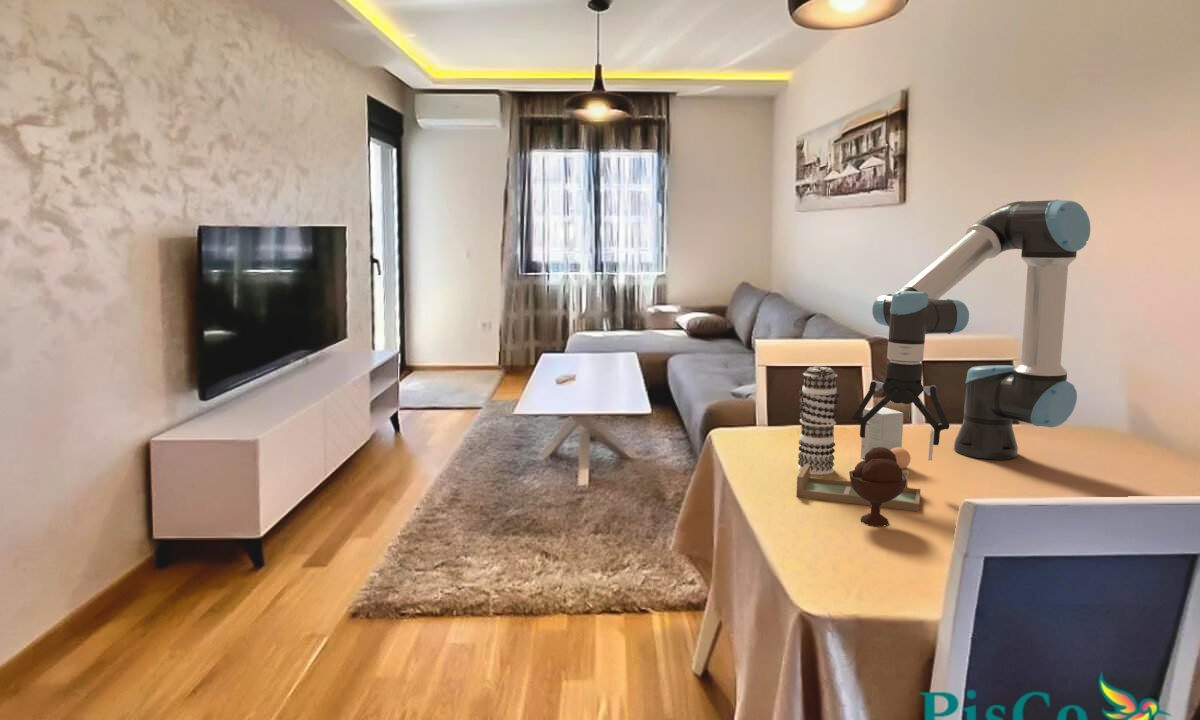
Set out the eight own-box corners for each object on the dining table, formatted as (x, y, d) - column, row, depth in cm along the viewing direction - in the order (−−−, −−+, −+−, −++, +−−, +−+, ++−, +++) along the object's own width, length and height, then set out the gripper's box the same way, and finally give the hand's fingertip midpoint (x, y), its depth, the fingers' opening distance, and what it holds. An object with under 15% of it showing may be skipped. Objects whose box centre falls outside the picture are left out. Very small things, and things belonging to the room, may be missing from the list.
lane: (920, 496, 184) (921, 476, 184) (918, 511, 174) (920, 490, 174) (803, 482, 193) (804, 463, 193) (796, 496, 183) (797, 476, 183)
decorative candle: (816, 477, 198) (821, 372, 194) (788, 467, 206) (792, 366, 202) (843, 471, 203) (848, 369, 199) (814, 462, 210) (819, 363, 207)
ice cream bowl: (837, 513, 173) (841, 442, 170) (890, 512, 174) (895, 441, 171) (857, 531, 162) (862, 456, 160) (913, 530, 163) (918, 455, 161)
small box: (901, 463, 210) (904, 412, 208) (880, 465, 208) (883, 414, 206) (880, 455, 218) (883, 406, 216) (859, 457, 215) (862, 407, 213)
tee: (907, 486, 191) (908, 466, 190) (906, 492, 187) (908, 471, 186) (887, 484, 193) (888, 464, 192) (885, 489, 189) (887, 469, 188)
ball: (910, 467, 190) (911, 446, 190) (909, 473, 186) (910, 451, 185) (886, 465, 192) (888, 443, 192) (885, 470, 188) (886, 449, 187)
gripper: (844, 359, 186) (838, 452, 190) (966, 368, 177) (958, 466, 180) (847, 355, 193) (841, 445, 196) (965, 363, 184) (957, 457, 187)
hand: (897, 455), depth 188 cm, fingers open, 13 cm apart
